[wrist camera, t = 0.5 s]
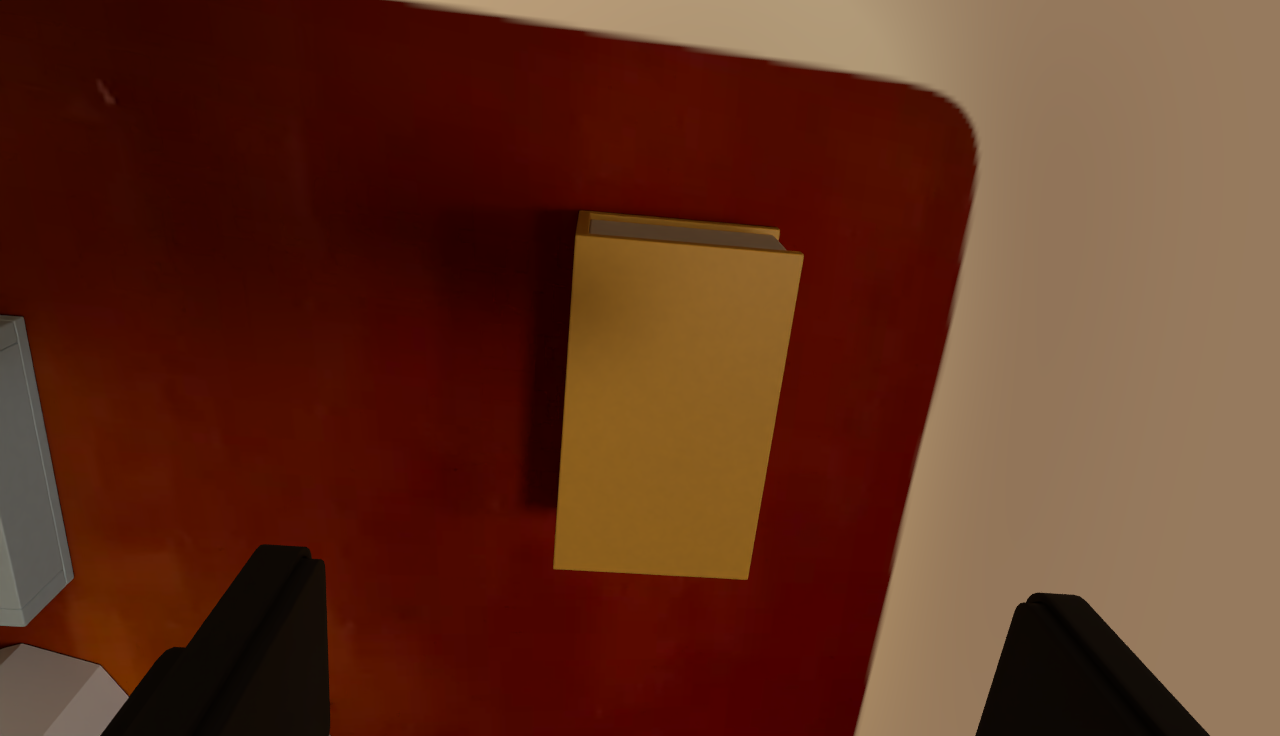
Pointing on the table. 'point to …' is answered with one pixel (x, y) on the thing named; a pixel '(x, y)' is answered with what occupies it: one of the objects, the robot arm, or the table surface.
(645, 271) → the book
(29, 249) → the table surface
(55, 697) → the mug
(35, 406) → the tray
